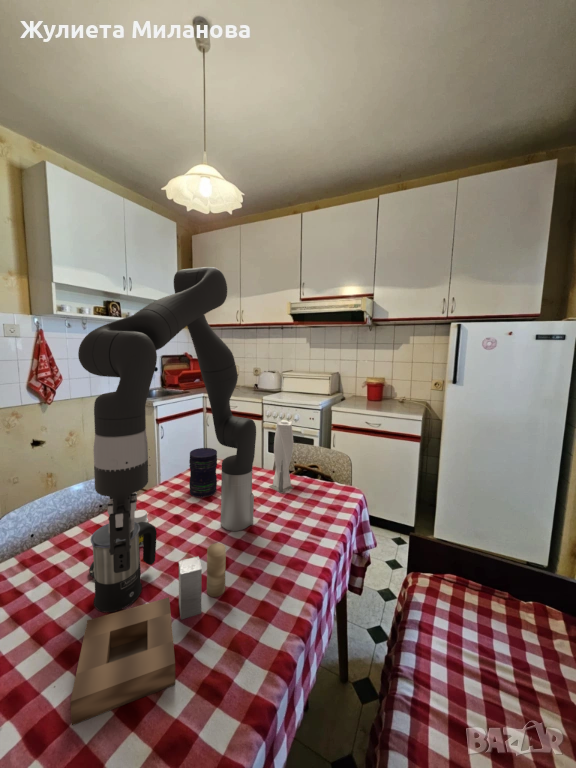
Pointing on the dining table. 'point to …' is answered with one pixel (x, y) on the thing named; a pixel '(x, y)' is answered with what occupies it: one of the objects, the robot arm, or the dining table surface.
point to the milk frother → (122, 586)
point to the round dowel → (216, 569)
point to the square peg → (190, 587)
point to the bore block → (123, 659)
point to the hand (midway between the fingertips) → (124, 552)
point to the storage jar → (203, 472)
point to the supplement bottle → (140, 517)
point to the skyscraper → (282, 455)
